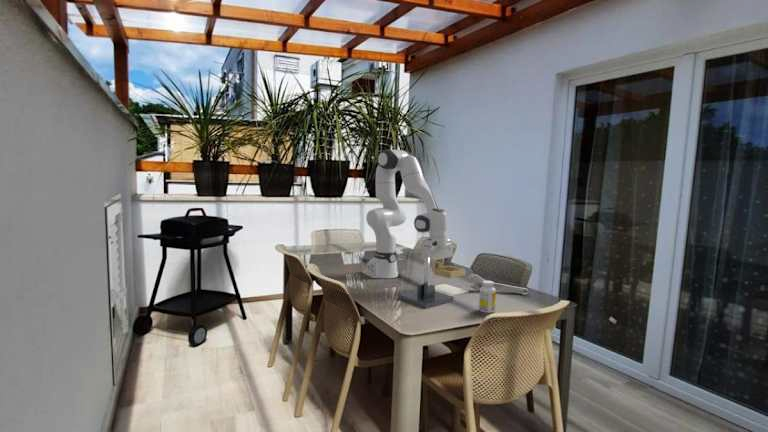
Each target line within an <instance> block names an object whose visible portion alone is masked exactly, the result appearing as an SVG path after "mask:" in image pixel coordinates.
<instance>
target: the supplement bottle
mask: <svg viewBox="0 0 768 432" xmlns="http://www.w3.org/2000/svg"><path fill="white" fill-rule="evenodd" d="M494 283H495V282H494V281H492V280H486V281H483V282H482V284H483V287H481V288H480V291H479V300H478V301H479V304H478V306H479V307H478V309H479V311H480V312H482V313H487V314H491V313H492V314H493V313H494V312H495V311H496V294H497V291H496V290H497V289H495V288H494V287H493V285H494Z"/></svg>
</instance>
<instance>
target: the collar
mask: <svg viewBox="0 0 768 432" xmlns="http://www.w3.org/2000/svg"><path fill="white" fill-rule="evenodd" d="M435 265H437V268H432V267H431V272H433V275H436V276H439V277H443V278H447V279H450V280H451V279H455V278H459V277H463V276H466V269H465V268H462V267H461V268H460V267H457V266H452V265H444V262H440V260H439V261H438V260H435Z"/></svg>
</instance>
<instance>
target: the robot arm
mask: <svg viewBox="0 0 768 432" xmlns="http://www.w3.org/2000/svg"><path fill="white" fill-rule="evenodd" d="M376 160H377V167H376V169H375V179H374V180H375V197H376V198H377V200H378V201H380V202H381V204H382V207H377V208H373V209H371V210H369V211H368V212H367V214H366V218H365V220H366V223H367V225H368V226H369V227H370V228H371V229H372V230H373V233H374V235H375V251H374V252H373V254H374V255H373V257H372V258H371V259H370V260H368V261H367V262H366V266H365V269H363V270H362V271H361V273H362V274H364V275H365V276H368V277H370V278H371V279H393V278H397V277H398V276H399V271H398V262H397V259H396V258H397V254H398V253H397V249H396V248H397V246H396V245H397V244H396V243H397V239H396V236H395V235H393V234H392V233H391V229H390V227H398V226H401V225H403V224H404V223H405V221H406V219H407V215H406V211H405V210H404V209H403V208H402V207H401V206H400V203H399V201H398V198H397V194H396V193H397V192H396V173H397V172H399V173H400V176H401V180H402V184H403V186H404V188H405V190H406V191H408V192H409V193H410V194H414V195H415V196H418V197H419V198H420V199H421V200H422V201H423V203H424V207H425V208H426V212H425V213H422V214H418V215H416V216H415V218H414V221H413V225H414V229H415V230H416V231H417V233H421V234H423V233H429V236H428V237H426V238H425V239H423V240H422V241H421V245H422V247H421V250H420V251H421V253H420V257H421V261H424V257H430V263H431V269H432V268H437V265H435V261H438V260H439V262H443V263H445V259H448V258H452V257H453V256H454V246H453V242H452V240H451V239H448V233H447V229H448V213H447V211H446V210H444V209H442V208H439V206H438V203H437V201H436V199H435V196H434V194H433V191H432V190H431V187H430V186H429V185H428V183H427V181H426V179H425V177H424V175H423V171H422V168H421V165H420V163H419V161H418V159H417V158H416V157H415V156H414V155H413V154H412V153H410V152H409V151H407V150H405V149H404V150H403V149H402V150H401V149H388V148H387V149H383V150H381V151H380V152H379V153H378V155H377V159H376Z"/></svg>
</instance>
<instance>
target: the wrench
mask: <svg viewBox="0 0 768 432" xmlns="http://www.w3.org/2000/svg"><path fill="white" fill-rule="evenodd" d="M471 279H472V280H474V282H475V283H470V284H469V285H468V286H469V288H471V289H474V290H477V292H480V288H481V287H483V284H482V282H483V281H487V280H486V279H484V278H482V277H481V276H480V275H478V274H475V273H472V274H470V275H468V277H467V280H471ZM493 287H494V288H495V290H500V291H503V292H510V293H515V294H517V295H518V294H519V295H529V292H530V291H529V289H528V288H525V287H520V286H515V285H508V284H503V283H498V282H494V285H493ZM524 291H527V292H526V293H525V292H524Z"/></svg>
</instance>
